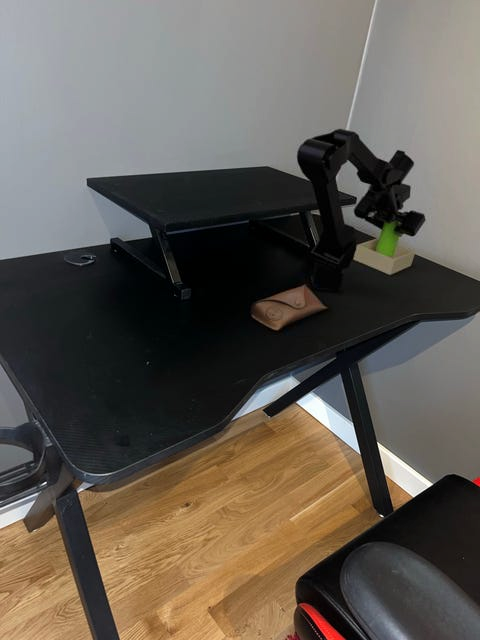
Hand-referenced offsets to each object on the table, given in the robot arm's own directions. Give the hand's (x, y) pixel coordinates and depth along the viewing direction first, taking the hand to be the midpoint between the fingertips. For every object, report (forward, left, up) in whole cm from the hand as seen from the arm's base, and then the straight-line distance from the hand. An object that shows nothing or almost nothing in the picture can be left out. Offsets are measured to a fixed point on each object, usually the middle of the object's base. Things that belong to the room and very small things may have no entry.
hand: (393, 232), depth 130 cm
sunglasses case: (-31, -37, -9) cm, 49 cm away
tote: (-1, -1, -9) cm, 9 cm away
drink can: (-1, -1, -7) cm, 7 cm away
